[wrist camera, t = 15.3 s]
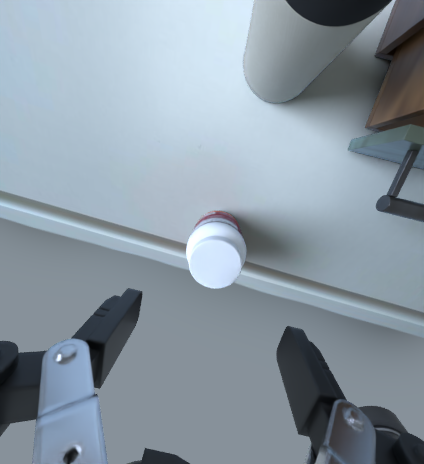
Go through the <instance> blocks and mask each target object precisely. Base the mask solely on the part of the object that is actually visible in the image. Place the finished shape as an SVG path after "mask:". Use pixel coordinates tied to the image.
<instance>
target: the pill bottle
mask: <svg viewBox="0 0 424 464" xmlns="http://www.w3.org/2000/svg"><path fill="white" fill-rule="evenodd" d="M186 256H187V260H188V263H189V269H190V272H191V274H192V276H193V277H194V279H195V280H196V281H197V282H199V283H200V284H201V285H203V286H206V287H209V288H223V287H226V286H228V285H230V284H232V283H233V282H234V281H235V280H236V279H237V278H238V276H239V275H240V272H241V269H242V266H243V265H244V262H245V259H246V245H245V241H244V238H243V235H242V233H241V230H240V227H239V224H238V222H237V221H236V219H235V218H234V217H233V216H231V215H230V214H228V213H226V212H223V211H212V212H208V213H206V214H205V215H203V216H202V217H201V218H200V219H199V220H198V222H197V224H196V226H195V228H194V230H193V232H192V234H191V236H190V238H189V240H188V243H187V247H186Z"/></svg>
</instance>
